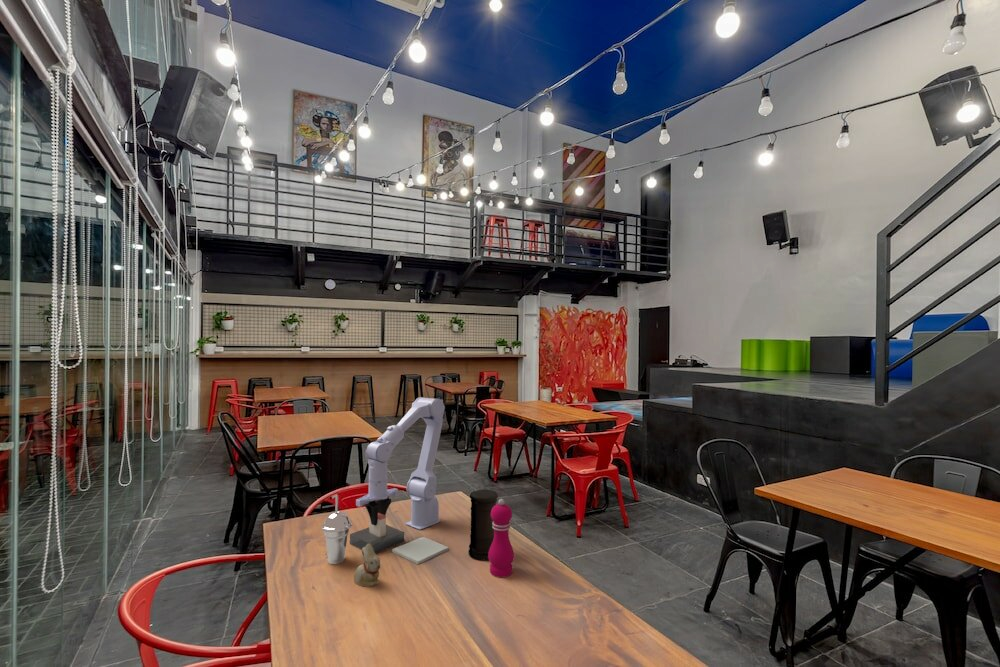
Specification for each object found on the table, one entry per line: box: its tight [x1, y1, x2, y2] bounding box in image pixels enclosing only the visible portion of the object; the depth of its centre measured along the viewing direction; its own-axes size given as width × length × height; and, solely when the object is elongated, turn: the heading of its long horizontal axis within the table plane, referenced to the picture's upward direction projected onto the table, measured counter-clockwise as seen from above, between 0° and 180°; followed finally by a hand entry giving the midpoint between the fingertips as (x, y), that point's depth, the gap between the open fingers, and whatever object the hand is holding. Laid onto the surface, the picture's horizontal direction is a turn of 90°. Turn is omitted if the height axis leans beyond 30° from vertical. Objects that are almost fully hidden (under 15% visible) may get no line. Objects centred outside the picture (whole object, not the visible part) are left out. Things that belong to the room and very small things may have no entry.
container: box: [468, 489, 499, 561], centre depth 136 cm, size 9×9×18 cm
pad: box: [391, 536, 449, 565], centre depth 137 cm, size 12×12×1 cm
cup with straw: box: [320, 493, 353, 565], centre depth 131 cm, size 8×9×20 cm
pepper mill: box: [488, 498, 515, 578], centre depth 125 cm, size 7×7×20 cm
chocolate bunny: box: [353, 544, 381, 588], centre depth 119 cm, size 6×8×10 cm
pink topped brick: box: [368, 513, 387, 537], centre depth 143 cm, size 2×6×7 cm, turn 50°
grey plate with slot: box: [349, 524, 405, 555], centre depth 143 cm, size 12×12×3 cm
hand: (377, 523), depth 143 cm, fingers closed on pink topped brick, 2 cm apart
